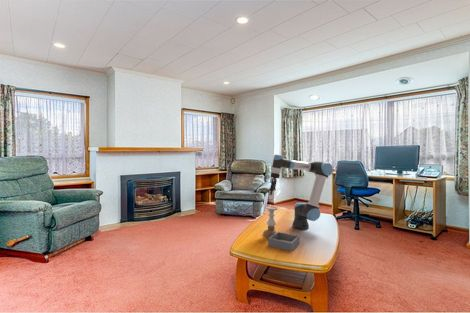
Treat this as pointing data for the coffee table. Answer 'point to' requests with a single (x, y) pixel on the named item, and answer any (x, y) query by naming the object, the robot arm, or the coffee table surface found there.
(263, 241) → the coffee table surface
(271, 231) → the candle holder
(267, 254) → the coffee table surface
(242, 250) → the coffee table surface
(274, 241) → the walled bin
